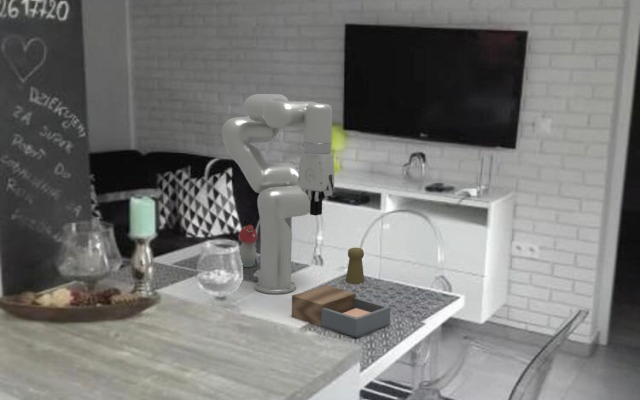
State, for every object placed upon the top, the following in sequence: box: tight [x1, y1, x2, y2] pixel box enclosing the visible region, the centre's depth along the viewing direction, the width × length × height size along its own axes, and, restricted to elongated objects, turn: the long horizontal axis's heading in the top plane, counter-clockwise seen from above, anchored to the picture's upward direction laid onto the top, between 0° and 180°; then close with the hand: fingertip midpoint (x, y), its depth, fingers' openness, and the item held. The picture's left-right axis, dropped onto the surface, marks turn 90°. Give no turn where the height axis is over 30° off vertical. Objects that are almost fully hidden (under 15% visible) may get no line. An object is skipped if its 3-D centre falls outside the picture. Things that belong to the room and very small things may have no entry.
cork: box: [345, 247, 365, 285], centre depth 230 cm, size 6×6×11 cm
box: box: [320, 296, 391, 339], centre depth 189 cm, size 12×14×5 cm
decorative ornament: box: [238, 224, 258, 268], centre depth 246 cm, size 9×6×15 cm
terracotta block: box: [343, 308, 371, 318], centre depth 189 cm, size 6×6×3 cm
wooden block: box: [291, 284, 357, 327], centre depth 197 cm, size 11×14×6 cm
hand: (316, 214), depth 199 cm, fingers closed
